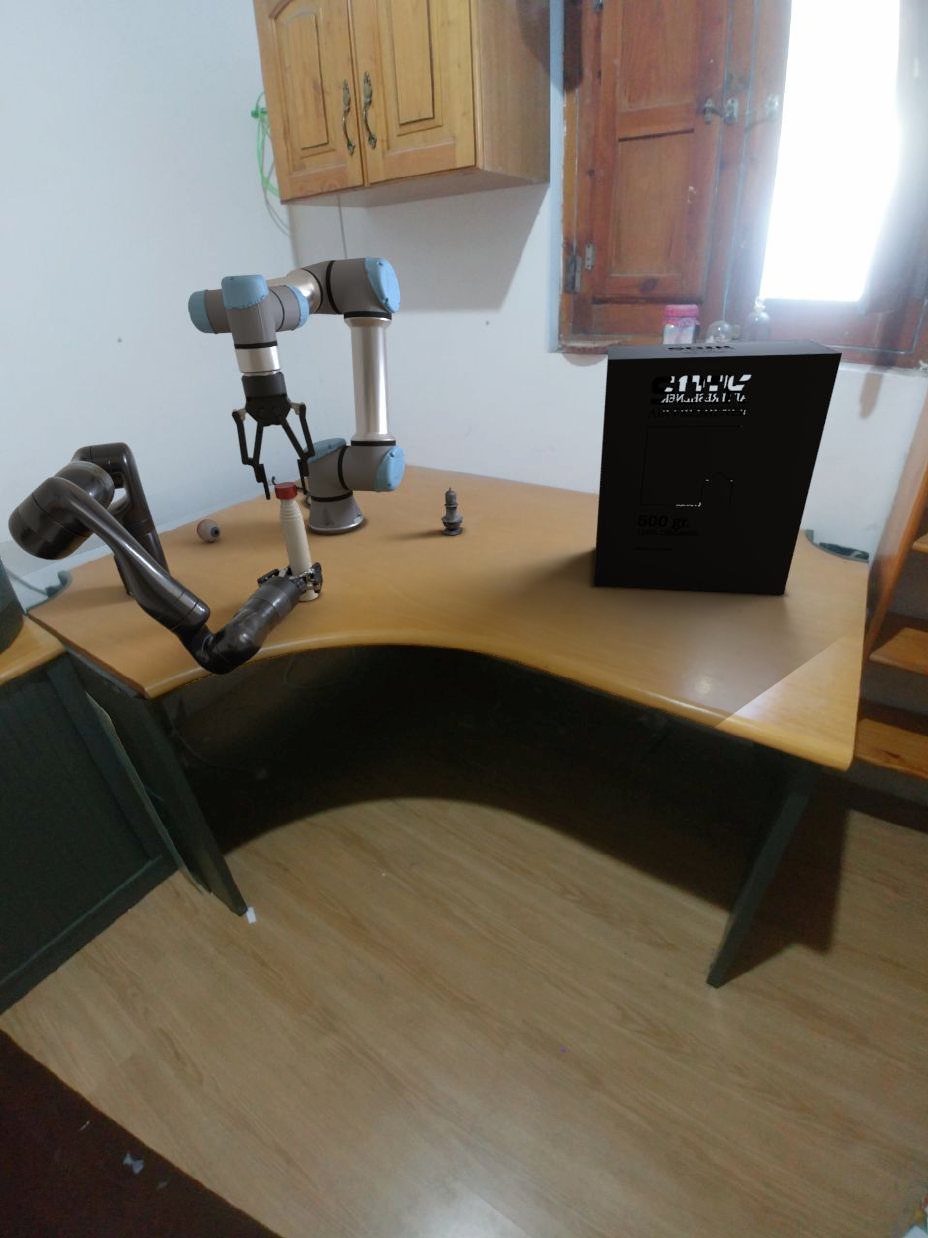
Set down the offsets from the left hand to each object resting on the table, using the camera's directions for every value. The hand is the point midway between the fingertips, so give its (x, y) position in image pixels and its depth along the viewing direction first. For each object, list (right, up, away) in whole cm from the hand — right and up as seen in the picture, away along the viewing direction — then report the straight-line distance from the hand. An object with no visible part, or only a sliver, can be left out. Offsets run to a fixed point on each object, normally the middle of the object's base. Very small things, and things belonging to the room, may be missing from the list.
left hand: (307, 565), depth 132 cm
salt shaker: (+31, +12, +29) cm, 44 cm away
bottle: (0, -7, +1) cm, 7 cm away
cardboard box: (+83, -1, +3) cm, 83 cm away
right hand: (-1, +13, -11) cm, 17 cm away
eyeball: (-34, +9, +32) cm, 48 cm away
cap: (-1, +15, -12) cm, 19 cm away
